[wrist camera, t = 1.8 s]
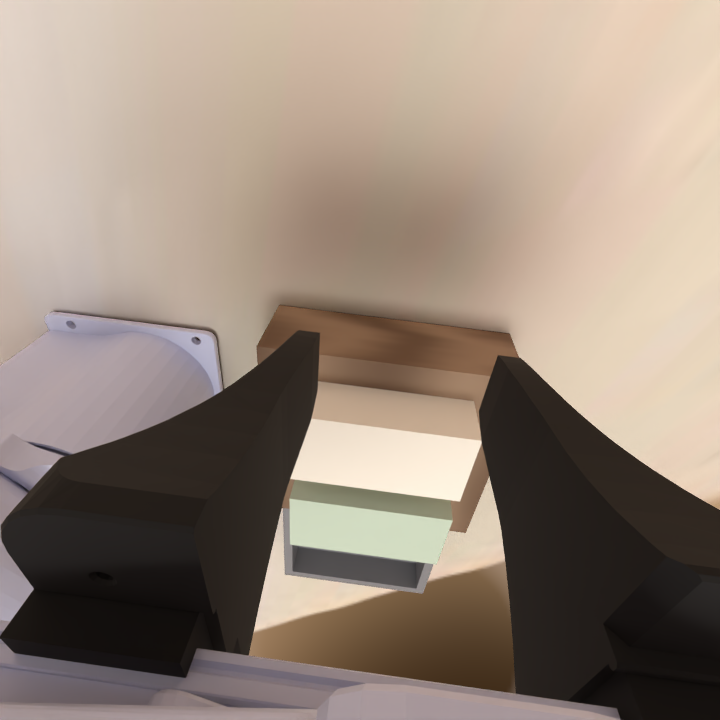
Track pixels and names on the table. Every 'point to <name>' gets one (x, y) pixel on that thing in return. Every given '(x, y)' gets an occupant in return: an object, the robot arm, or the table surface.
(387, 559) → the bin
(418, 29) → the table surface
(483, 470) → the block
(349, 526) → the sage tile
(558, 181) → the table surface
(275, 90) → the table surface
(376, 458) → the cream tile
